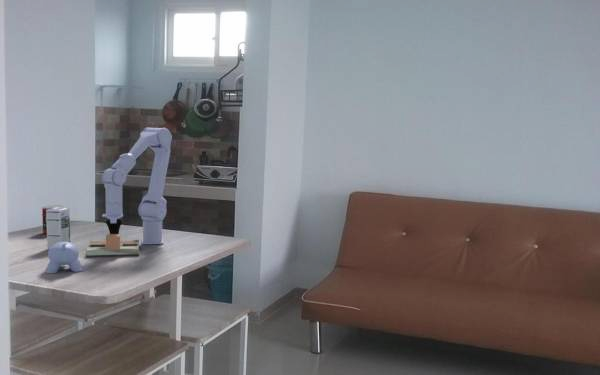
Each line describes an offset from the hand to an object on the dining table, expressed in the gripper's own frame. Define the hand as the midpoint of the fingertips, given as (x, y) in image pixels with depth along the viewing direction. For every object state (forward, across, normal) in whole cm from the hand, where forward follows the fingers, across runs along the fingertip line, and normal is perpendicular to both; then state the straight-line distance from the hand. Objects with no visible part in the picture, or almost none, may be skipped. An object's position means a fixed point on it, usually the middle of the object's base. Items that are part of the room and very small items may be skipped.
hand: (114, 240), depth 216 cm
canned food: (+4, -38, -25) cm, 46 cm away
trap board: (+4, +2, 0) cm, 4 cm away
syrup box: (+4, -7, -20) cm, 21 cm away
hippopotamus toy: (+4, +25, -14) cm, 29 cm away
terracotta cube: (+1, +8, 0) cm, 8 cm away
